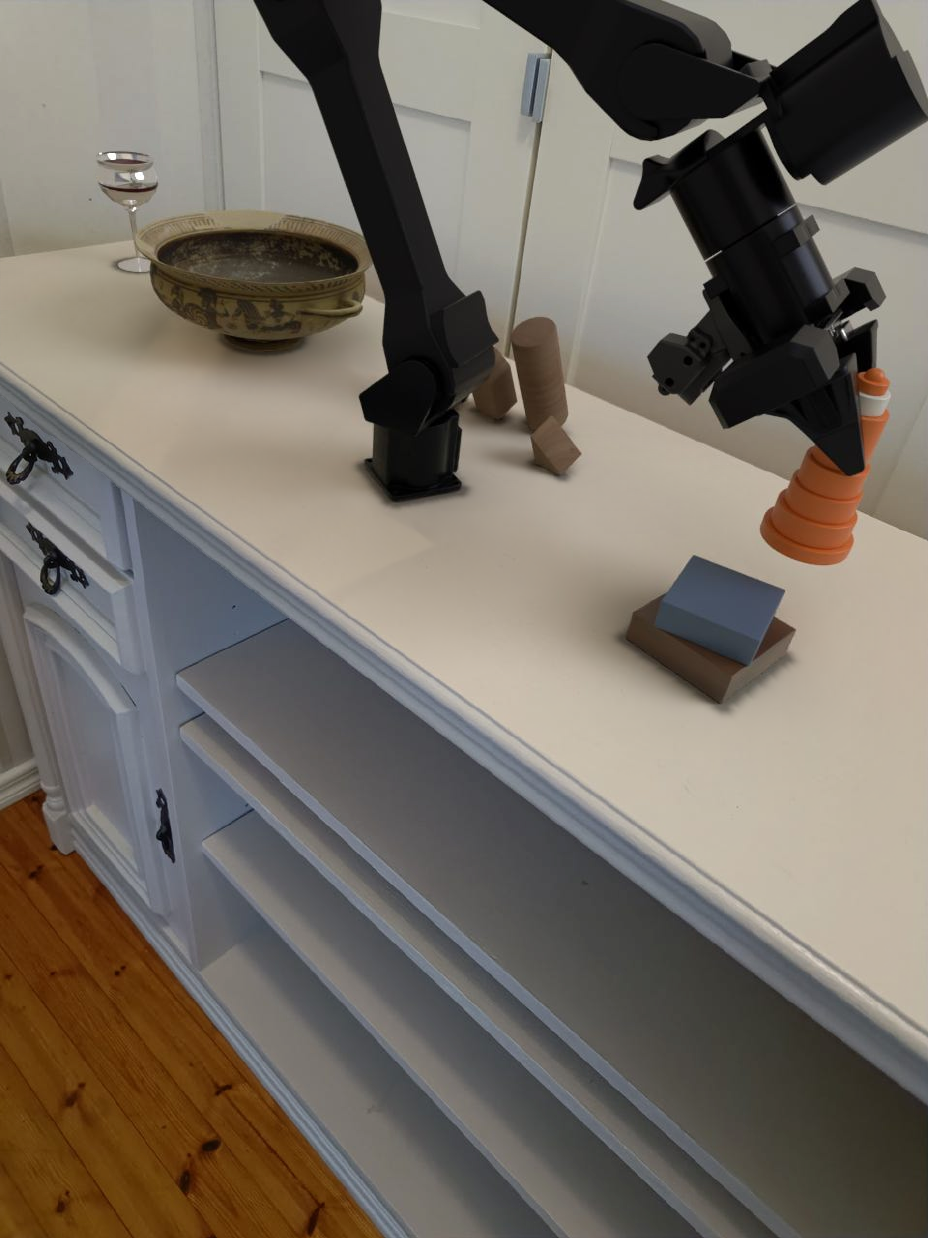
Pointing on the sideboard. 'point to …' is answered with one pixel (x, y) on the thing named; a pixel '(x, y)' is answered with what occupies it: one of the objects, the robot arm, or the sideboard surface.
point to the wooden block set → (533, 392)
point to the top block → (719, 609)
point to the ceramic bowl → (257, 273)
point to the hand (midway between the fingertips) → (862, 461)
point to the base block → (706, 654)
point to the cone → (827, 491)
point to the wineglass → (128, 189)
